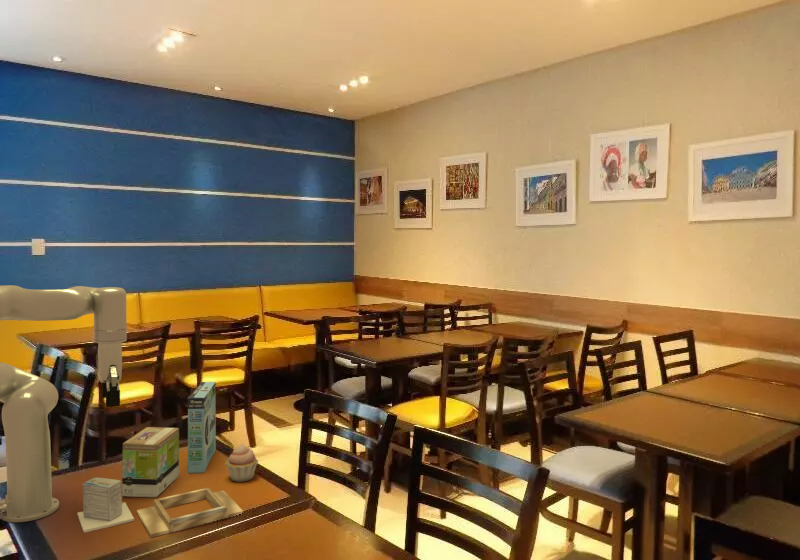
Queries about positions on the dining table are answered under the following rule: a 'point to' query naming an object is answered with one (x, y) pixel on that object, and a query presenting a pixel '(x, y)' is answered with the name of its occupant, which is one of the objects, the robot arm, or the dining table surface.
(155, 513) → the beige rectangular frame piece
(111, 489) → the medicine box
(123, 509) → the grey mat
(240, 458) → the cupcake
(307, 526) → the dining table surface
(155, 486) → the tea box
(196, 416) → the gum box
